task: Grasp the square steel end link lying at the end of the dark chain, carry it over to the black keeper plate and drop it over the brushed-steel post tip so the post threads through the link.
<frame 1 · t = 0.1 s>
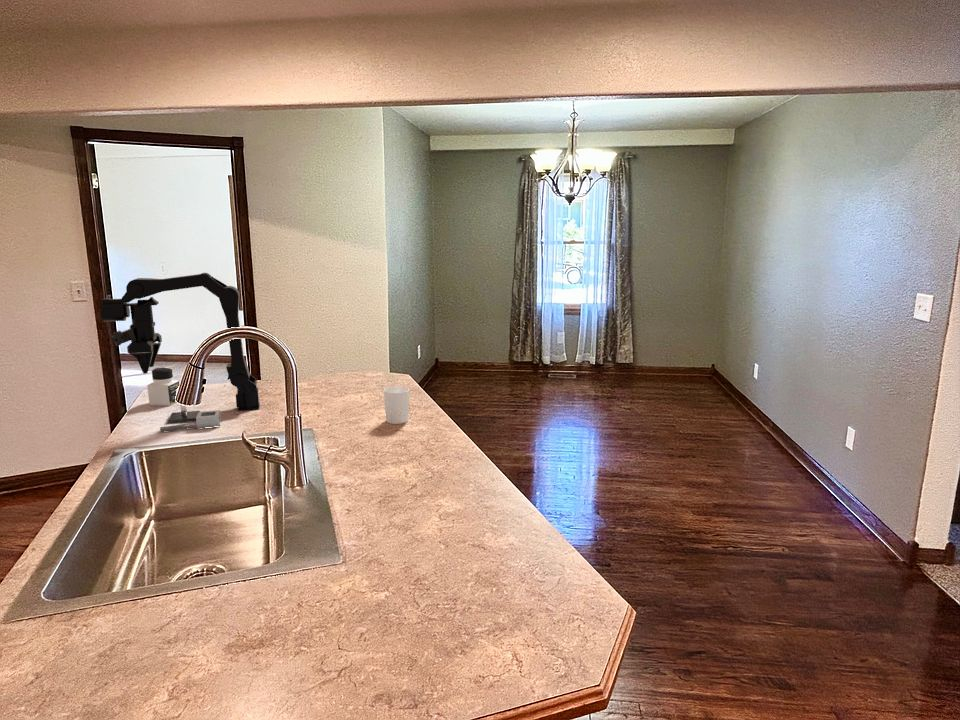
hand: (148, 370, 187), 15 cm above the table, fingers open, 9 cm apart
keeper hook: (184, 418, 187), on the table
medicine bottle: (165, 403, 203), on the table
chain tail: (180, 429, 177), on the table
end link: (209, 425, 180), on the table
white cup: (397, 421, 186), on the table
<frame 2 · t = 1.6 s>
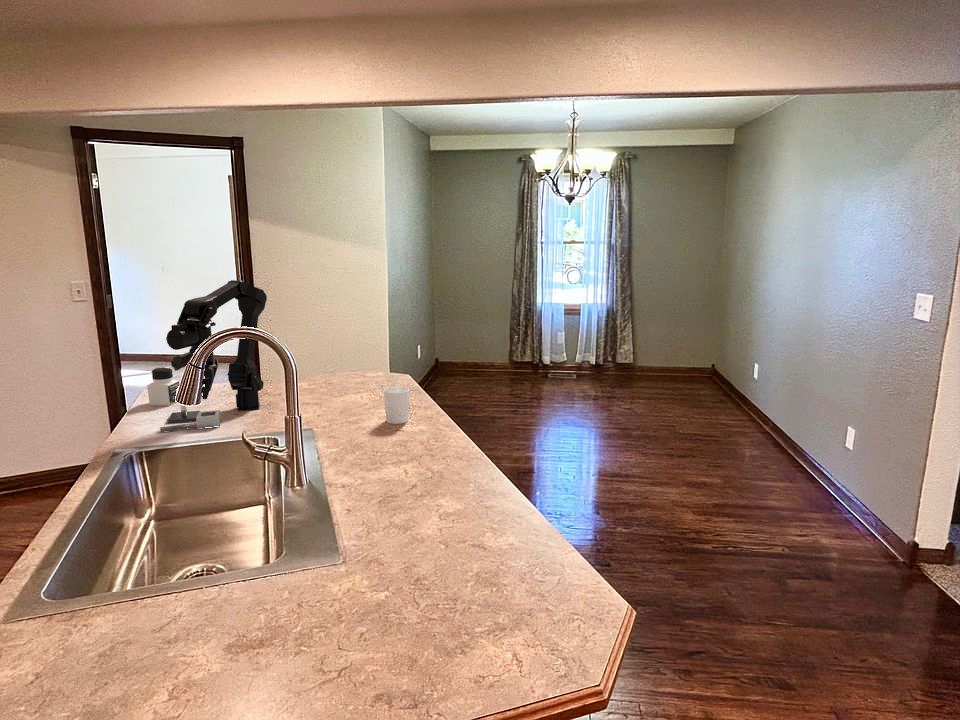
hand: (206, 394, 178), 9 cm above the table, fingers open, 9 cm apart
nothing on the table moved.
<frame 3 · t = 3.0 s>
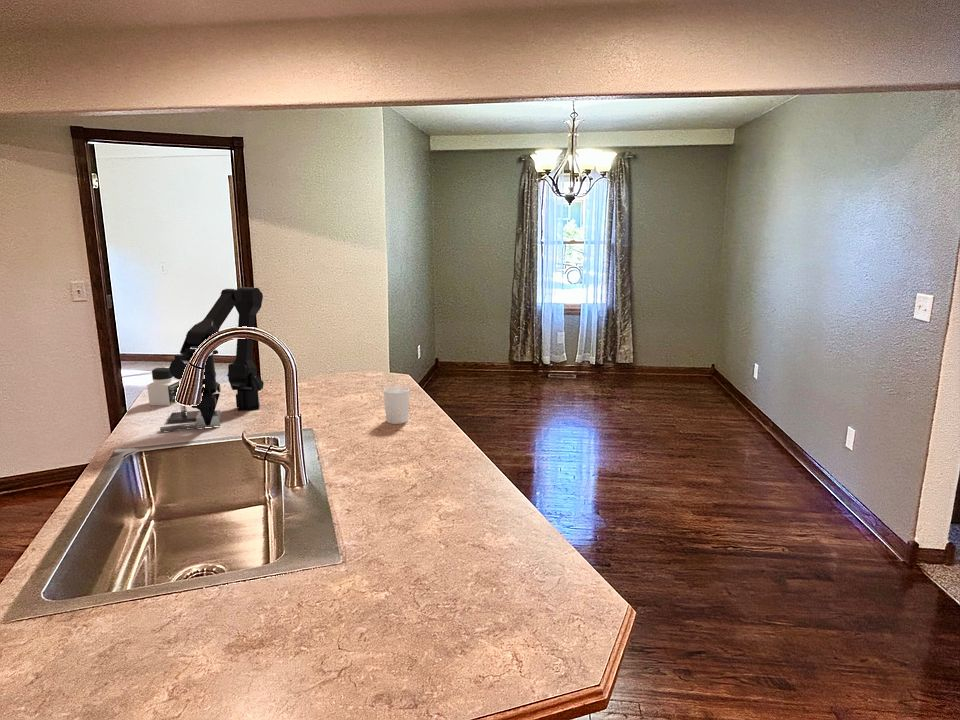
hand: (209, 422, 180), 1 cm above the table, fingers closed on end link, 6 cm apart
end link: (209, 425, 180), on the table, touching gripper
everything else where it was.
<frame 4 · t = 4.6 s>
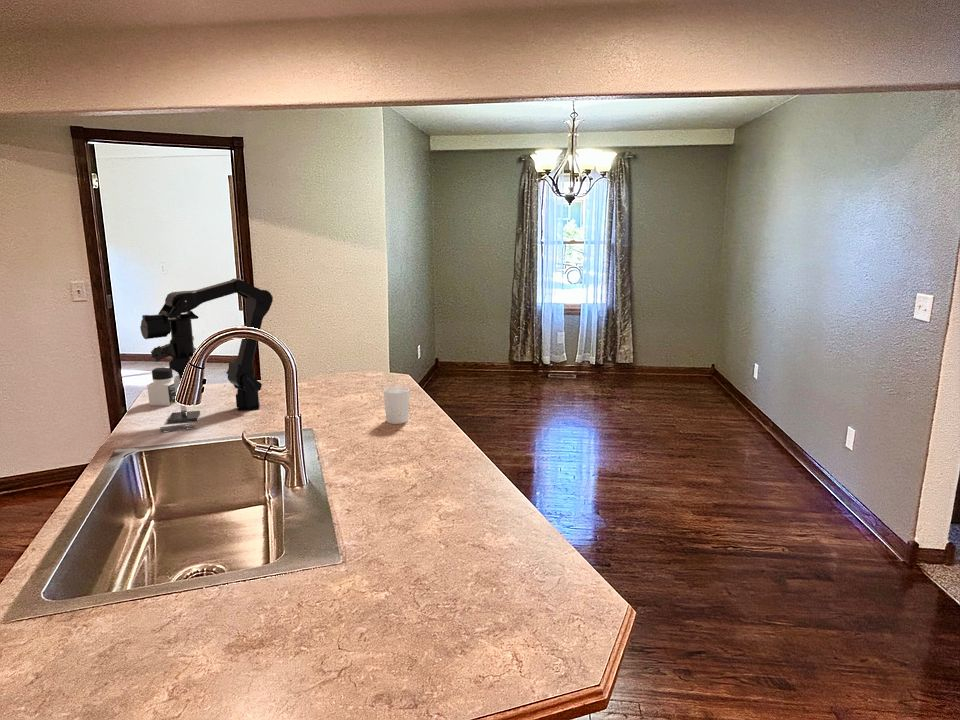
hand: (187, 385, 183), 11 cm above the table, fingers closed on end link, 6 cm apart
end link: (187, 388, 183), point 10 cm above the table, touching gripper
everything else where it was.
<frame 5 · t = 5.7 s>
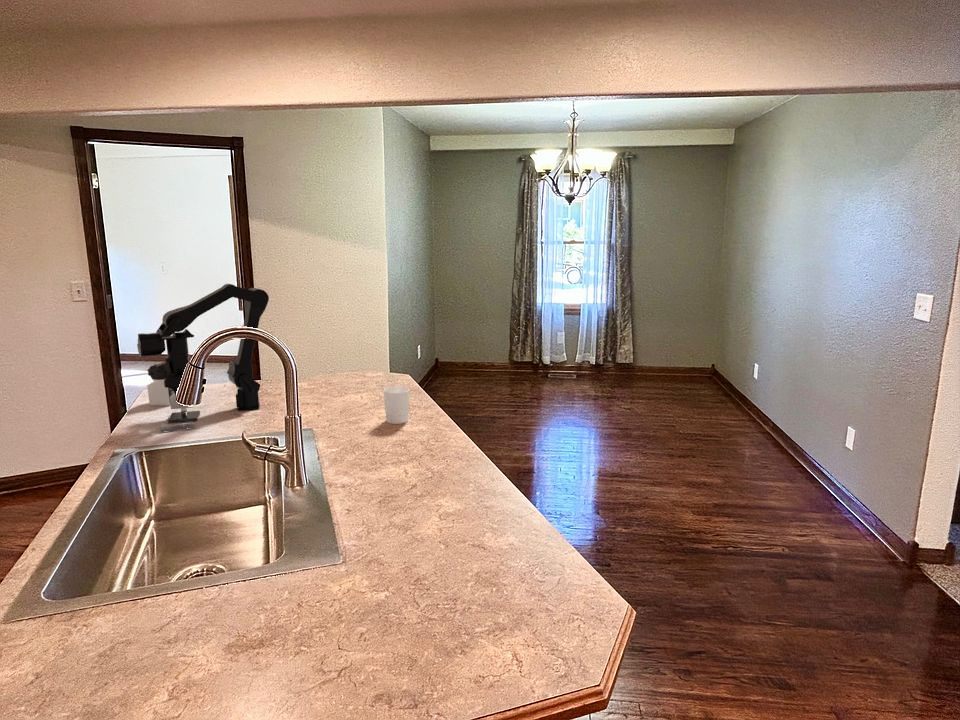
hand: (183, 402, 186), 5 cm above the table, fingers closed on end link, 6 cm apart
end link: (183, 405, 186), point 4 cm above the table, touching gripper
everything else where it was.
when the fingers open (3 cm above the table, at t = 6.4 s): end link drops 1 cm, resting on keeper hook.
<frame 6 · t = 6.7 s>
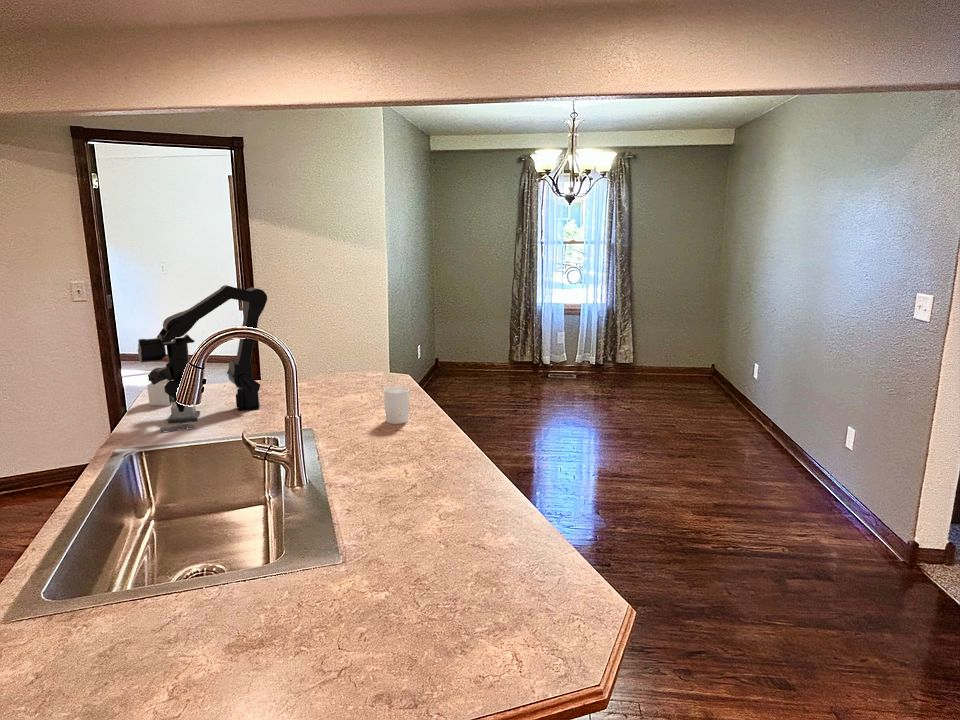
hand: (183, 407, 186), 3 cm above the table, fingers open, 9 cm apart
end link: (184, 415, 187), point 1 cm above the table, touching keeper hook
everything else where it was.
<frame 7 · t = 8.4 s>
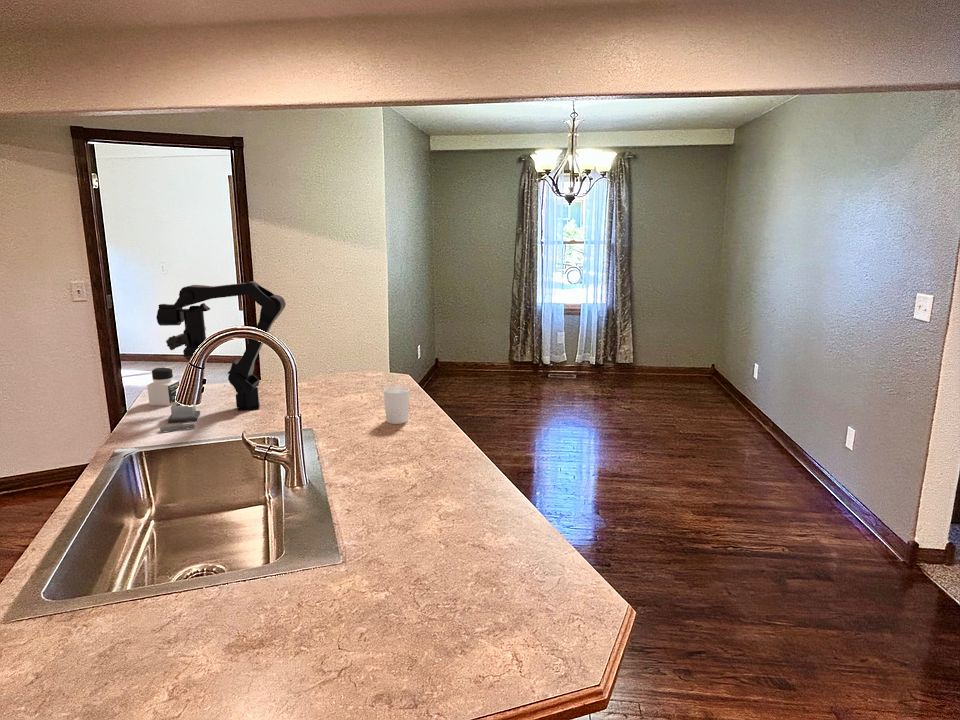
hand: (199, 372, 195), 12 cm above the table, fingers open, 9 cm apart
nothing on the table moved.
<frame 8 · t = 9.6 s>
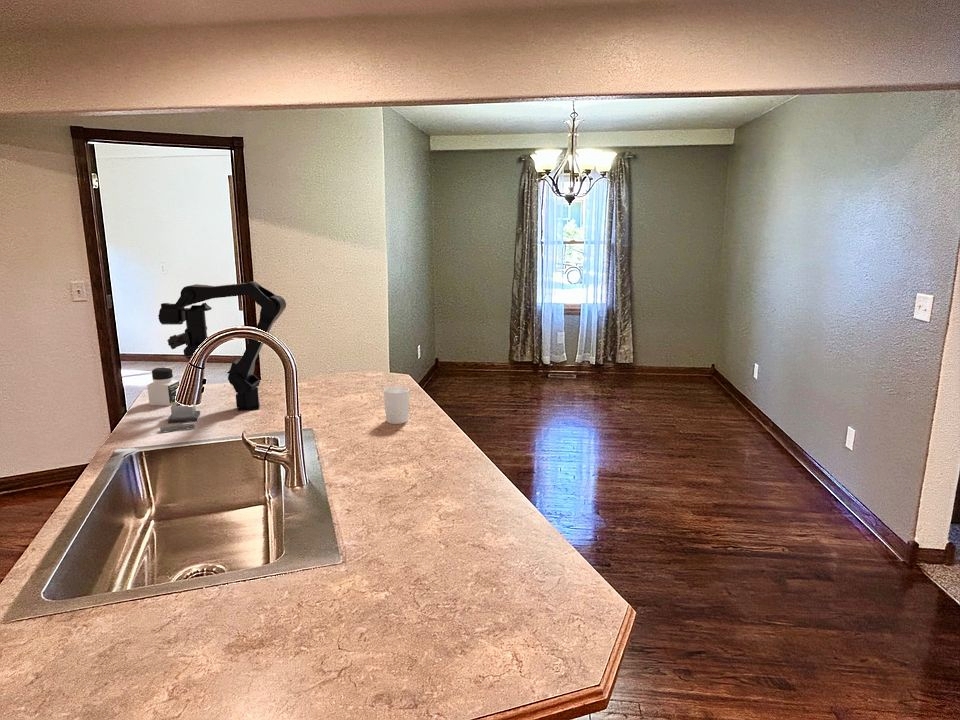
hand: (200, 372, 195), 12 cm above the table, fingers open, 9 cm apart
nothing on the table moved.
at the end: end link 0.0 cm off-centre on the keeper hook, point 1.0 cm above the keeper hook's base; end link tilted 0°; the gripper is holding nothing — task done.
